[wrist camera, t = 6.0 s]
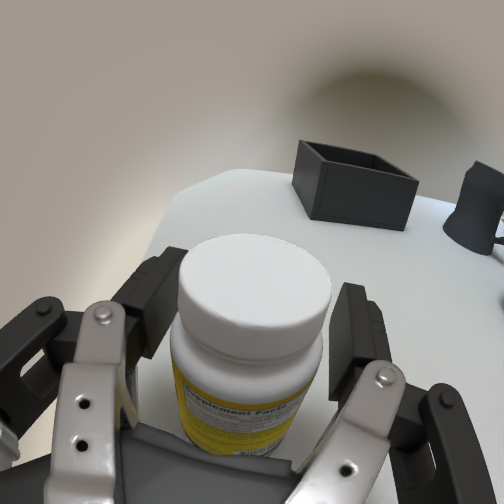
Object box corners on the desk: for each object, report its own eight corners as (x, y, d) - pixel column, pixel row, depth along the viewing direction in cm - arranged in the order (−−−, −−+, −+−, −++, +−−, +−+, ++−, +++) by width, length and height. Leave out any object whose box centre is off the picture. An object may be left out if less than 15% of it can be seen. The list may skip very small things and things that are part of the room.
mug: (432, 226, 37) (455, 152, 31) (457, 222, 41) (477, 160, 35) (496, 271, 28) (529, 190, 22) (511, 260, 32) (538, 193, 26)
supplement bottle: (209, 366, 15) (217, 213, 10) (296, 398, 13) (354, 252, 9) (161, 438, 11) (124, 288, 6) (265, 482, 9) (334, 367, 5)
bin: (310, 219, 32) (322, 161, 29) (291, 183, 43) (299, 139, 40) (403, 231, 34) (419, 181, 30) (367, 194, 44) (377, 154, 41)
